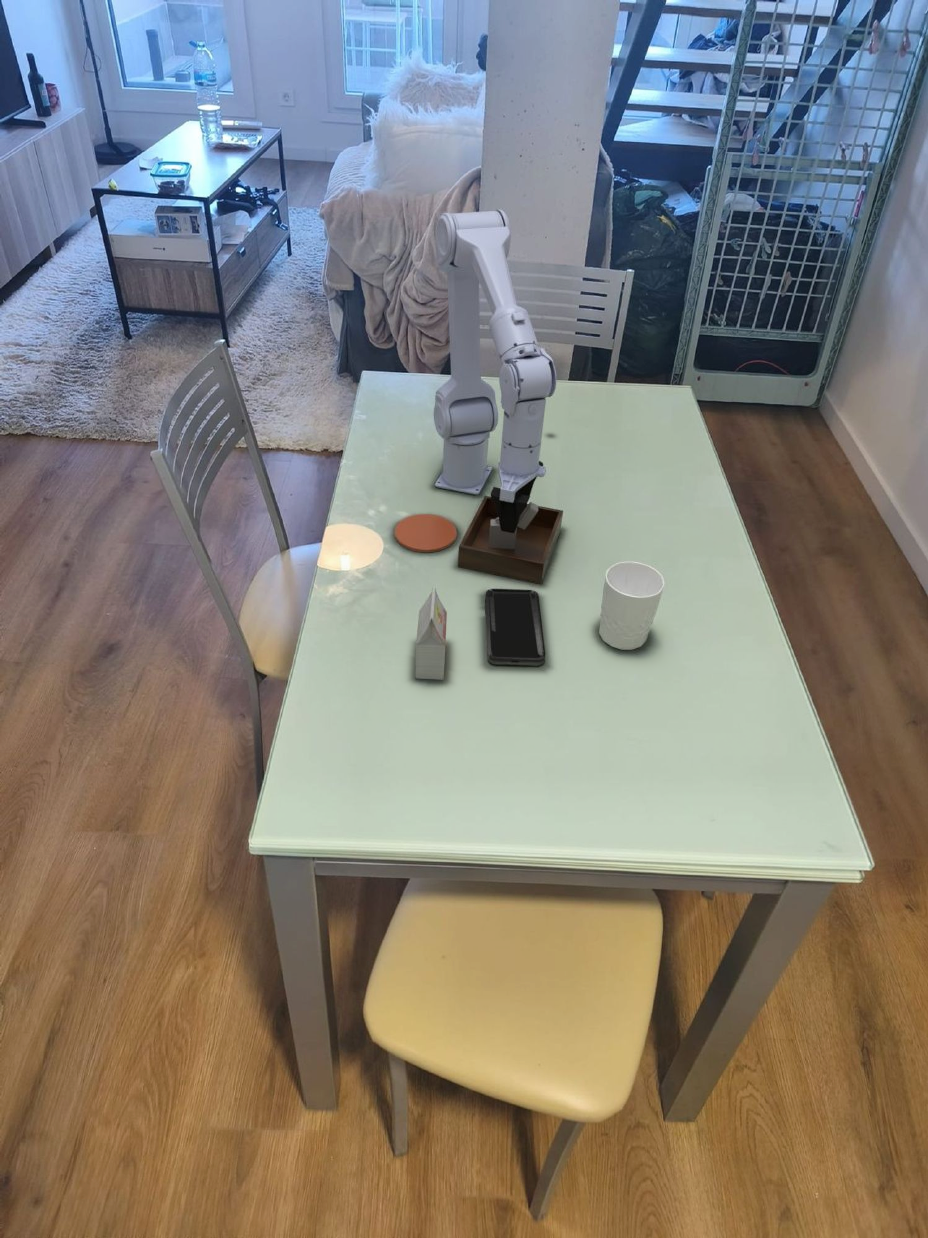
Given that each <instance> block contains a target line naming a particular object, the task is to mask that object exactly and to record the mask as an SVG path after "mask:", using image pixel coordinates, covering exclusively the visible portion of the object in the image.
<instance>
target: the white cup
mask: <svg viewBox="0 0 928 1238" xmlns="http://www.w3.org/2000/svg"><path fill="white" fill-rule="evenodd" d="M665 586H666V585H665V578H664V576H663V575H662V574H661V572H659V571H658V570H657V569H656V568H654V567H653V566H651V565H648V564H646V563H643V562H638V561H629V560H628V561H620V562H616V563H614V564H612V565H610V566H609V567H608V568H607V570H606V571H605V576H604V583H603V591H602V598H601V603H600V604H601V605H600V615H599V616H600V621H599V630H598V634H599V636H600V638H601V640H602V641H603V642H604V643H606V644H607V645H609V646H610V647H612V648H616V649H619V650H624V651H625V650H628V651H629V650H630V651H631V650H635V649H638V648H641V647H642V646H643V645H644V644H645V643H646V642H647V640H648V636H649V632H650V629H651V627H652V626H653V624H654V623H653V622H654V619H655V616H656V613H657V611H658V607H659V605H660V601H661V598H662V595H663V591H664V588H665Z"/></svg>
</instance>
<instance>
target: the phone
mask: <svg viewBox="0 0 928 1238" xmlns="http://www.w3.org/2000/svg"><path fill="white" fill-rule="evenodd" d="M484 597H485V599H484V603H485V604H484V614H485V628H486V651H487V652H486V654H487V661H488V662H489V663H490V664H492V665H494V666H495V665H496V666H498V665H499V666H525V667H526V666H527V667H528V666H530V667H532V666H533V667H540V666H541V665H543V664H544V663H545V661H546V648H545V646H546V645H545V638H544V630H543V621H542V620H543V619H542V613H541V604H540V595H539V593H538V592H537V591H536V590H533V589H520V588H519V589H516V588H515V589H514V588H489V589H487V590H486V591H485V595H484Z"/></svg>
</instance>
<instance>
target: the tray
mask: <svg viewBox="0 0 928 1238" xmlns="http://www.w3.org/2000/svg"><path fill="white" fill-rule="evenodd" d="M528 504H529V503H527V505H526V507H527V506H528ZM526 507H524V508H523V510H522V512H521V514H522V513H523V511H524V510H525V508H526ZM521 514H520V515H521ZM563 515H564V510H563V509H557V508H552V507H546V506H541V505H538V512H537V513H536V515H535V516H534V518H533V519H532V520H531V522H530V523H529V525H528V526H527V527H526V529H525V530H524V529H522V528H519V527H517V532H516V542H515V549H501V548H489V535H490V522H491V519H496V518H498V513H497V509H496V507H495V505H494V503H493V502H492V500H491V495H490V496H489V495H484V497H483V498H482V501H481V502H480V504H479V506H478V508H477V510H476V512H475V514H474V516H473V518H472V520H471V522H470V523H469V525H468V528H467V530H466V532H465V534H464V536H463V537H462V539H461V541H460V543H459V546H458V557H457V567H458V568H462V569H468V570H472V571H476V572H481V573H485V574H491V575H495V576H500V577H505V578H510V579H514V580H519V581H524V582H527V583H534V584H539V585H542V583H543V580H544V578H545V575H546V571H547V569H548V566H549V564H550V561H551V558H552V556H553V553H554V550H555V547H556V544H557V541H558V539H559V536H560V533H561V531H562V523H563Z"/></svg>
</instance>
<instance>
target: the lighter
mask: <svg viewBox="0 0 928 1238" xmlns="http://www.w3.org/2000/svg"><path fill="white" fill-rule="evenodd" d="M527 504H528V506H527V507H526V508H525V510H524V511H523V513H522V514H521V515H520V518H519V522H518V525H517V527H519V528H522V529H524V530H525V529H526V527H527V526H528V525H529V523H530V522H531V520H532V519H533V518H534V516H535V515H536V513H537V512H538V506H539V505H538V504H536V503H534V502H532V501H530V502H528V503H527ZM516 532H517V528H516V530H515V532H514V533H509V532H504V531H501V528H500V523H499V517H498V518H496V519H491V522H490V535H489V548H501V549H515V542H516Z"/></svg>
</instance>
